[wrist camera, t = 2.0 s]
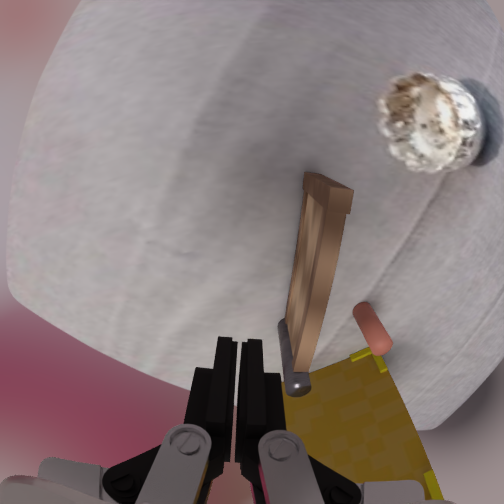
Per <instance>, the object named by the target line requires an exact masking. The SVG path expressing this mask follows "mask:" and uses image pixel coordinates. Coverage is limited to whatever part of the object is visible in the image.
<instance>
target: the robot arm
mask: <svg viewBox="0 0 504 504" xmlns="http://www.w3.org/2000/svg"><path fill="white" fill-rule="evenodd" d="M237 343H238V342H236V341H232V337H220V336H218V341H217V348H216V354H215V360H214V367H213V369H209V368H200V367H196V369H195V372H194V377H193V381H192V386H191V391H190V395H189V400H188V405H187V410H186V414H185V419H184V424H180V425H178V426H175V427H173V428H172V429H170V430H169V431H168V433H167V434H166V436H165V438H164V440H163V442H162V444H161V445H159V446H157V447H155V448H153V449H151V450H149V451H146V452H145V453H142V454H140V455H138V456H136V457H134V458H131V459H129V460H127V461H125V462H122V463H120V464H117V465H115V466H113V467H111V468H103V467H101V466H100V465H94V464H88V463H81V462H75V461H70V460H65V459H60V458H56V457H49V458H46V459H44V460H43V461H42V462H41V464H40V466H39V471H38V477H33V476H25V475H14V476H10V477H7V478H6V479H4V480H3V481H2V482H1V484H0V504H207V500H208V497H209V494H210V490H211V487H212V483H213V479H215V478H216V477H218V476H219V475H221V474H222V473H223V468H224V462H230V454H231V439H232V426H233V409H234V393H235V376H236V359H237ZM235 462H238V463H240V469H241V475H243V476H244V477H245V478H246V479H247V480H249V481H250V488H251V493H252V498H253V503H254V504H456V503H454V502H451V501H446V500H425V496H424V489H423V486H422V485H421V484H420V483H419V482H417V481H415V480H400V481H380V482H364V483H354V482H353V481H351V480H349V479H347V478H346V477H344V476H342V475H340V474H339V473H337V472H335V471H334V470H332V469H330V468H329V467H327V466H325V465H324V464H322V463H321V462H319V461H317V460H316V459H314V458H313V457H311V456H310V455H308V454H307V452H306V449H305V446H304V443H303V442H302V440H301V438H299V437H298V436H297V435H296V434H294V433H292V432H290V431H287V429H286V420H285V411H284V402H283V393H282V384H281V376H280V373H264V367H263V347H262V340H261V339H248V341H247V342H242V348H241V360H240V372H239V383H238V398H237V420H236V444H235Z"/></svg>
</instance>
